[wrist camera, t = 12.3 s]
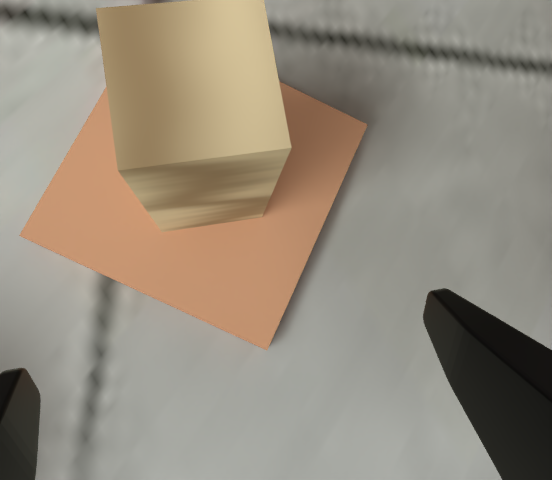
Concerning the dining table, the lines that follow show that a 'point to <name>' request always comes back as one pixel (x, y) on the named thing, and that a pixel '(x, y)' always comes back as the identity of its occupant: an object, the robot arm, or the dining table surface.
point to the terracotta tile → (205, 239)
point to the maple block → (195, 108)
